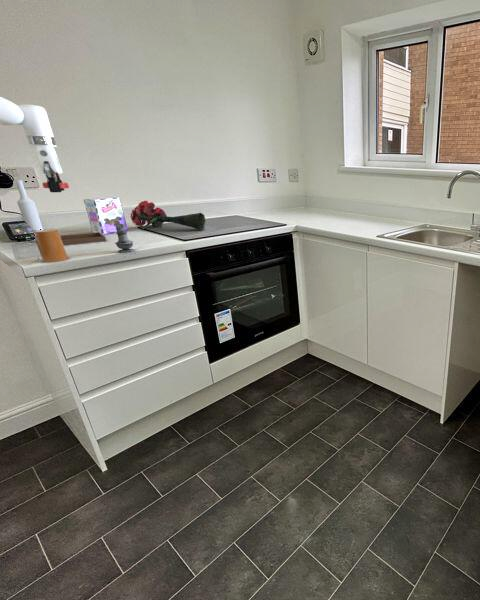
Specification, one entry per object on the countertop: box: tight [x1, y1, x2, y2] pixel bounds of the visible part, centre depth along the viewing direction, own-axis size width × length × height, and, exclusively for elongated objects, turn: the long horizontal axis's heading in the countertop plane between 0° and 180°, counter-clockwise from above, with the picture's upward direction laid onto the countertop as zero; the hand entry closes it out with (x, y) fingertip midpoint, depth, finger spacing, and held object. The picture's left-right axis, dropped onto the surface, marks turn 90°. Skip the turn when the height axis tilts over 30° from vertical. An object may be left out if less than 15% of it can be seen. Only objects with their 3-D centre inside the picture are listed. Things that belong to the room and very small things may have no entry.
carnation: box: [130, 200, 206, 231], centre depth 186 cm, size 16×18×35 cm
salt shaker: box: [114, 222, 135, 254], centre depth 139 cm, size 6×6×12 cm
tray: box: [60, 232, 107, 246], centre depth 154 cm, size 15×13×2 cm
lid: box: [42, 181, 70, 189], centre depth 137 cm, size 7×7×2 cm
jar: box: [34, 228, 69, 263], centre depth 124 cm, size 7×7×11 cm
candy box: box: [83, 196, 128, 236], centre depth 171 cm, size 14×6×16 cm, turn 171°
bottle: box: [14, 179, 44, 243], centre depth 148 cm, size 5×5×25 cm
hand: (57, 191), depth 138 cm, fingers closed on lid, 7 cm apart
